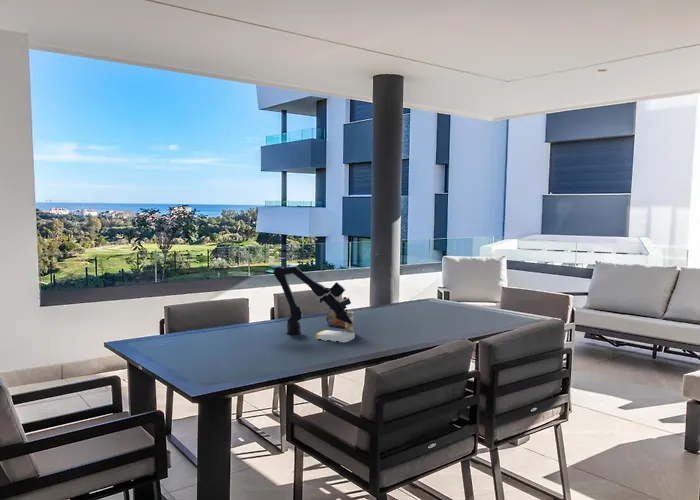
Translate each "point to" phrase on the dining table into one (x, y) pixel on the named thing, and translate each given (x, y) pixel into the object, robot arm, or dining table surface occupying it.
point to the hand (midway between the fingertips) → (351, 322)
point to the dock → (335, 336)
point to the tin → (334, 320)
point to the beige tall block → (349, 326)
